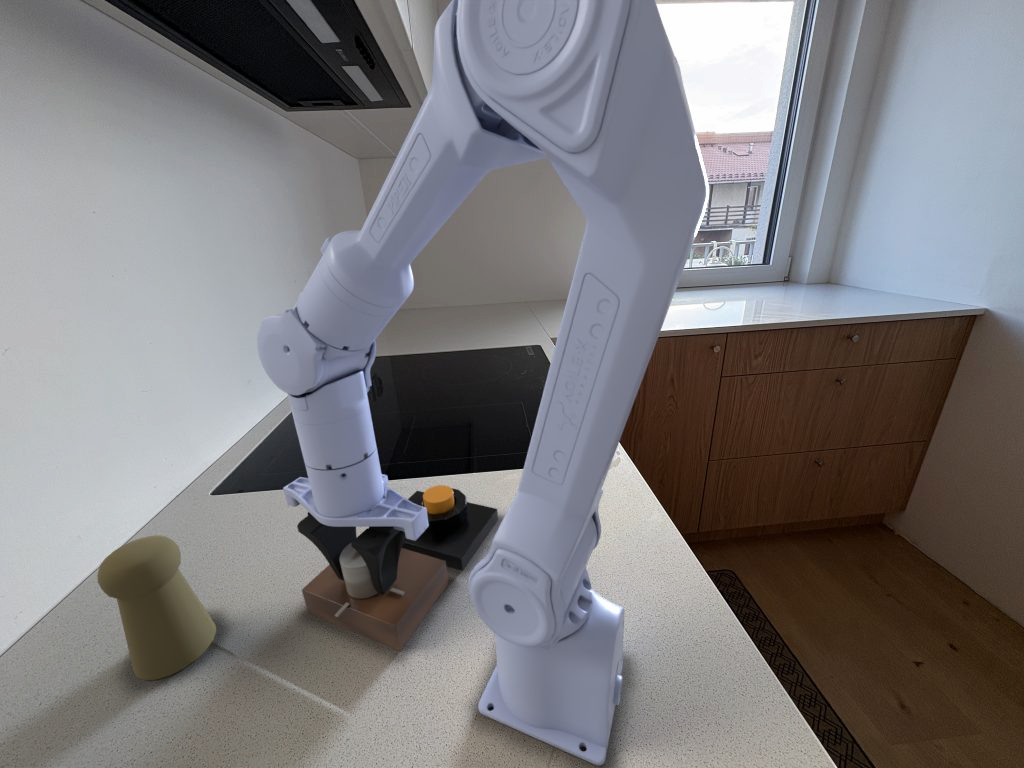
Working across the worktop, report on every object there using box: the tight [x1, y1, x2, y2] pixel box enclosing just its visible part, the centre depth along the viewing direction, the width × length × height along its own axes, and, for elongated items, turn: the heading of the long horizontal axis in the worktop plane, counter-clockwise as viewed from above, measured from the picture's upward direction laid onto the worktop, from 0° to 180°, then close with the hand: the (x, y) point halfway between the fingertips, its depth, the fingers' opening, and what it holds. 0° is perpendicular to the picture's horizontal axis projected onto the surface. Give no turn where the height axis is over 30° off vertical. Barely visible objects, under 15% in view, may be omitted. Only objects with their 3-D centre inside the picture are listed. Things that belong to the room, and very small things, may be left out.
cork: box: [96, 534, 217, 681], centre depth 36 cm, size 6×6×11 cm
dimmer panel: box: [301, 548, 449, 652], centre depth 41 cm, size 11×9×3 cm
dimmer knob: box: [339, 543, 378, 599], centre depth 39 cm, size 4×4×4 cm
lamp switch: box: [401, 487, 499, 572], centre depth 50 cm, size 12×9×4 cm
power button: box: [423, 484, 455, 514], centre depth 51 cm, size 4×4×2 cm
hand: (368, 578), depth 40 cm, fingers closed on dimmer knob, 4 cm apart
